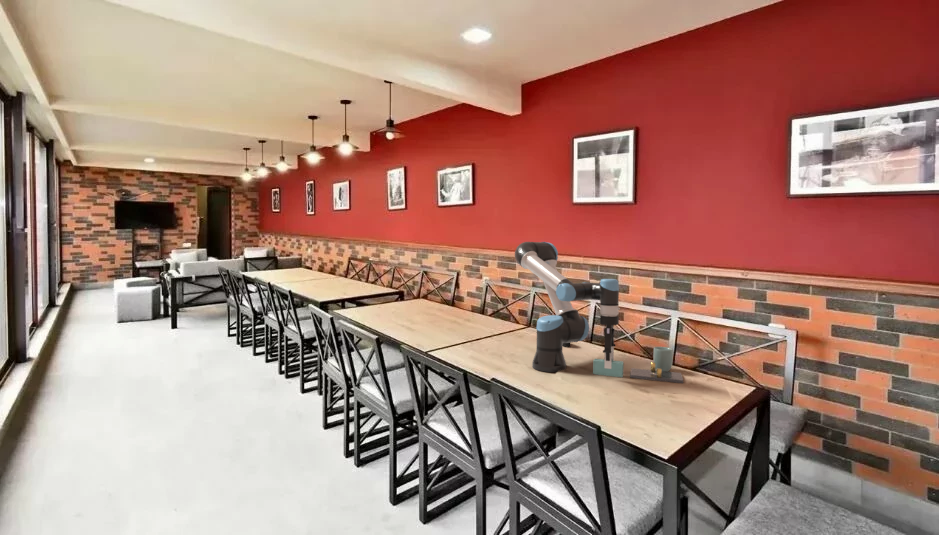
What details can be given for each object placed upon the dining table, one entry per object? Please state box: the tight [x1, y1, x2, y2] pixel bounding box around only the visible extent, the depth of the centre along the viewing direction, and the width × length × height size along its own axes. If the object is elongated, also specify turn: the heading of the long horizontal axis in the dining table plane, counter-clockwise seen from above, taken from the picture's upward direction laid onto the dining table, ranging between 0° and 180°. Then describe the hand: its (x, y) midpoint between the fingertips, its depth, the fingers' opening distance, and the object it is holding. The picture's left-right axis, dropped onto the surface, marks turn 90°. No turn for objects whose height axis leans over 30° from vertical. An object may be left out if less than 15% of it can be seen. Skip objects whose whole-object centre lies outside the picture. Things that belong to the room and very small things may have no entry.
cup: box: [652, 346, 674, 372], centre depth 199 cm, size 8×8×10 cm
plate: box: [629, 361, 684, 384], centre depth 190 cm, size 20×12×5 cm, turn 69°
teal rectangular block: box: [592, 357, 625, 378], centre depth 192 cm, size 12×4×7 cm, turn 66°
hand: (609, 364), depth 192 cm, fingers open, 13 cm apart
